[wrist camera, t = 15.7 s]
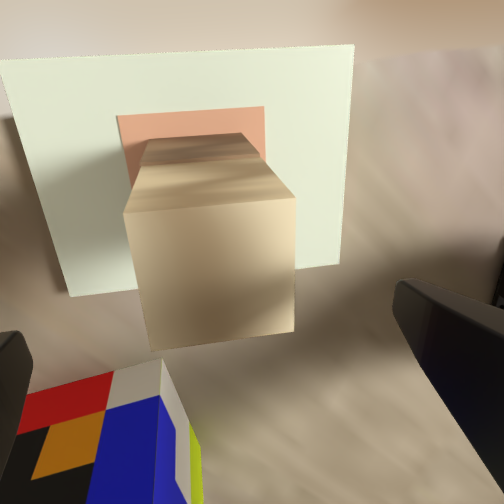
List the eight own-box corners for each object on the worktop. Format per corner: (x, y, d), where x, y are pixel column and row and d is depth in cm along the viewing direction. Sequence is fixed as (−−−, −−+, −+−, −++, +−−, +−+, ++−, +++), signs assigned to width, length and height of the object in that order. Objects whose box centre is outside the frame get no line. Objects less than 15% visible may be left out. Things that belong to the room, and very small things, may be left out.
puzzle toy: (162, 356, 26) (152, 510, 17) (200, 446, 30) (208, 603, 22) (15, 397, 25) (-73, 577, 16) (77, 482, 30) (34, 658, 21)
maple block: (261, 157, 14) (296, 197, 10) (263, 259, 16) (293, 331, 12) (141, 166, 14) (122, 213, 9) (159, 271, 16) (151, 351, 11)
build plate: (346, 45, 19) (355, 43, 18) (333, 256, 24) (339, 264, 23) (5, 60, 17) (-6, 60, 16) (74, 287, 22) (69, 298, 21)
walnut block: (241, 132, 19) (259, 153, 14) (245, 216, 21) (262, 257, 16) (149, 138, 18) (139, 162, 14) (163, 224, 20) (158, 269, 16)
